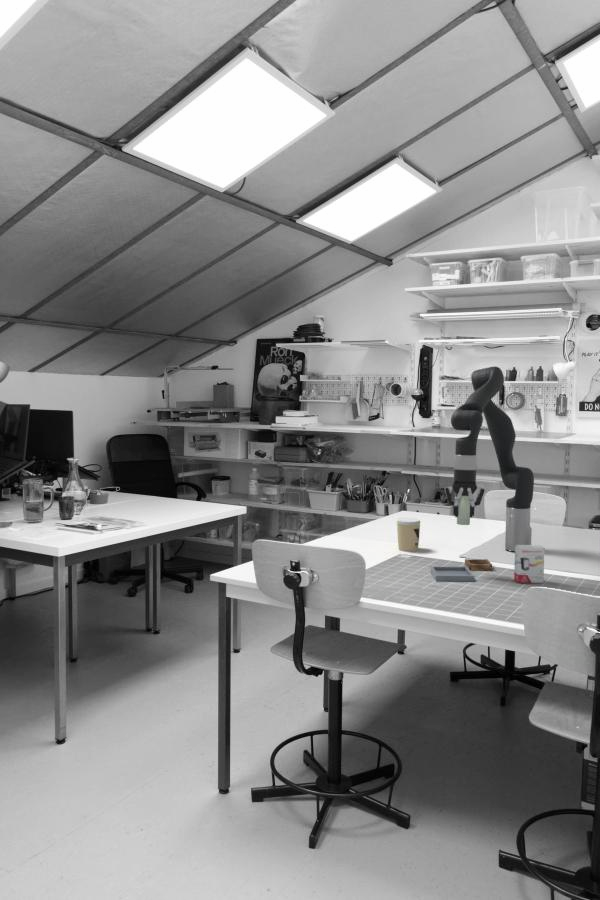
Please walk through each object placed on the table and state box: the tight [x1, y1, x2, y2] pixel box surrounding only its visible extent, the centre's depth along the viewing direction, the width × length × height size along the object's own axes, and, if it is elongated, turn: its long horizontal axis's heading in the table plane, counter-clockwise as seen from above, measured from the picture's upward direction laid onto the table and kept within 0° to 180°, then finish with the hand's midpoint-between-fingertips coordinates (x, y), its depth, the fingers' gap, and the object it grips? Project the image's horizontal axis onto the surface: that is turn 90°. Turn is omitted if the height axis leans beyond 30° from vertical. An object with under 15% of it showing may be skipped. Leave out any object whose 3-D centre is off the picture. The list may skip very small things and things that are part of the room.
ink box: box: [513, 544, 545, 584], centre depth 235 cm, size 9×5×12 cm, turn 89°
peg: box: [456, 496, 471, 526], centre depth 246 cm, size 4×4×10 cm
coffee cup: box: [396, 517, 421, 553], centre depth 282 cm, size 9×9×12 cm
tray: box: [430, 565, 475, 582], centre depth 242 cm, size 13×13×2 cm
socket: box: [464, 558, 493, 571], centre depth 254 cm, size 8×8×2 cm
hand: (463, 516), depth 246 cm, fingers closed on peg, 4 cm apart
